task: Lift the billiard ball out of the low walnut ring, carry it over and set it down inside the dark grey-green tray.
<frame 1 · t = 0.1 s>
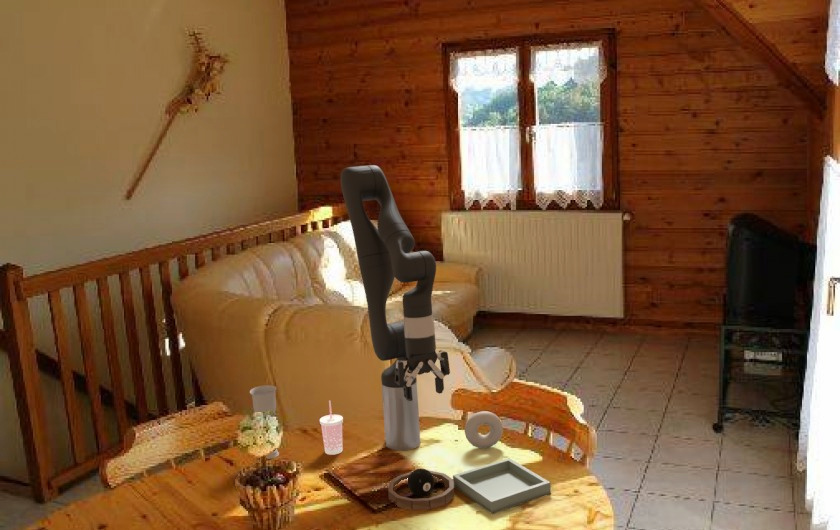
hand: (424, 396, 201), 17 cm above the table, tool pointing down, fingers open, 8 cm apart
donut: (484, 448, 211), on the table
tray: (501, 490, 187), on the table
billiard ball: (421, 495, 187), resting in walnut ring
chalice: (269, 455, 214), on the table
beverage cup: (333, 451, 214), on the table
walnut ring: (421, 494, 187), on the table
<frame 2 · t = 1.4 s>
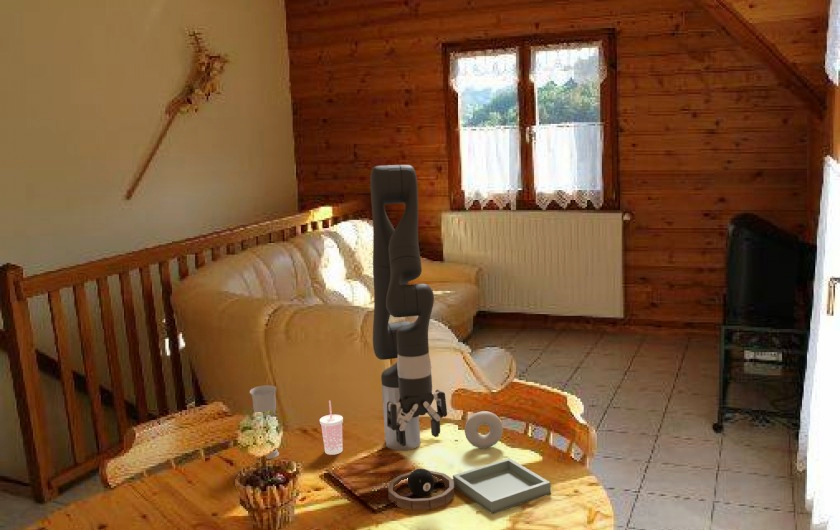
hand: (418, 440, 185), 13 cm above the table, tool pointing down, fingers open, 8 cm apart
nothing on the table moved.
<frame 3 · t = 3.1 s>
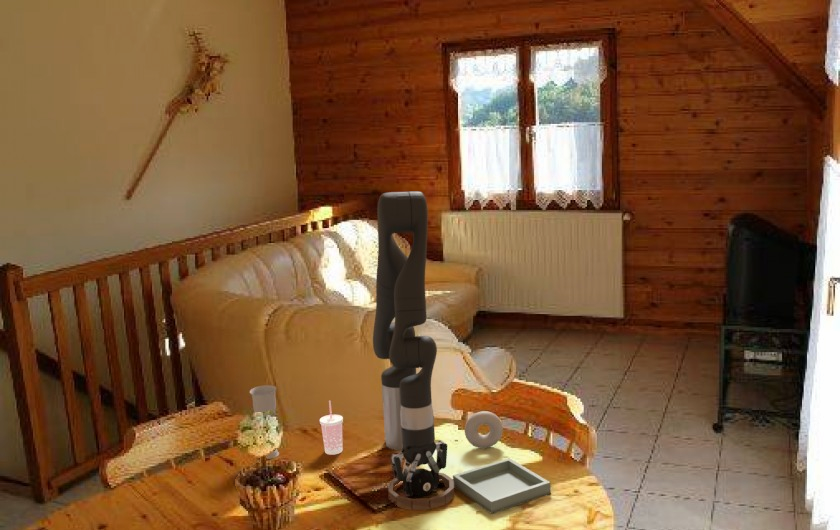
hand: (421, 490, 187), 1 cm above the table, tool pointing down, fingers closed on billiard ball, 6 cm apart
billiard ball: (421, 495, 187), resting in walnut ring, touching gripper
everything else where it was.
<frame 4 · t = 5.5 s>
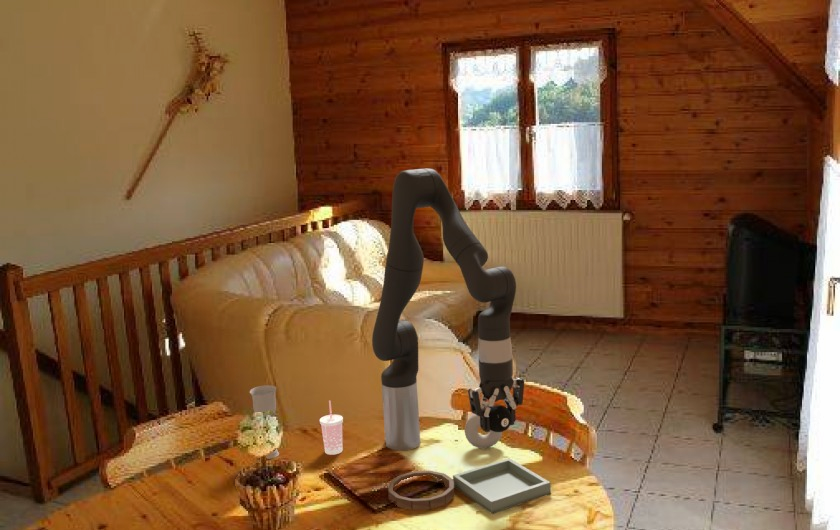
hand: (498, 427, 184), 15 cm above the table, tool pointing down, fingers closed on billiard ball, 6 cm apart
billiard ball: (498, 431, 184), point 14 cm above the table, touching gripper
everything else where it was.
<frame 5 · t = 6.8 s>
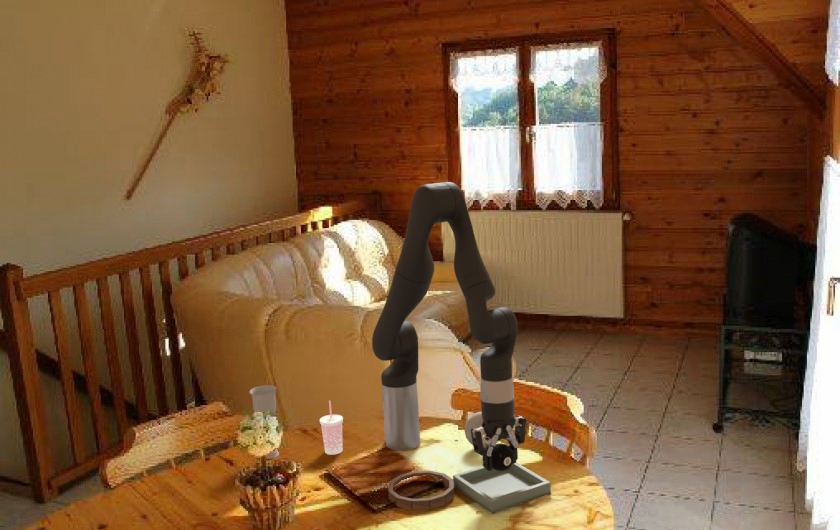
hand: (500, 465, 186), 6 cm above the table, tool pointing down, fingers closed on billiard ball, 6 cm apart
billiard ball: (501, 470, 186), point 5 cm above the table, touching gripper
everything else where it was.
when the fingers open (3 cm above the table, at t = 7.9 s): billiard ball drops 1 cm, resting on tray.
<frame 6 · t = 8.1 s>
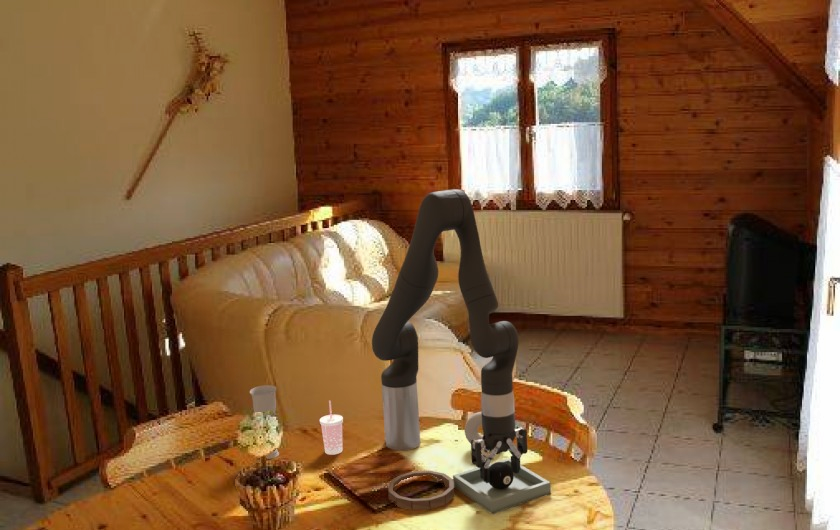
hand: (500, 476, 186), 3 cm above the table, tool pointing down, fingers open, 7 cm apart
billiard ball: (500, 488, 187), resting on tray
everything else where it was.
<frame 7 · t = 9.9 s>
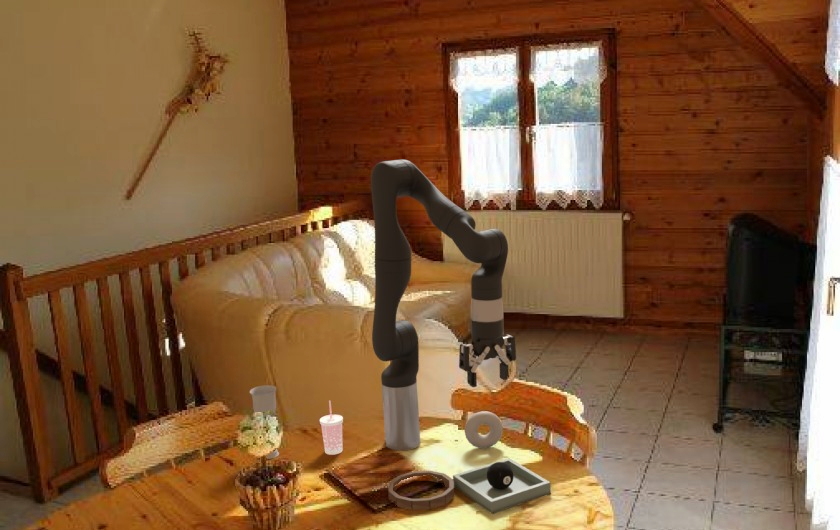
hand: (488, 382, 190), 23 cm above the table, tool pointing down, fingers open, 8 cm apart
nothing on the table moved.
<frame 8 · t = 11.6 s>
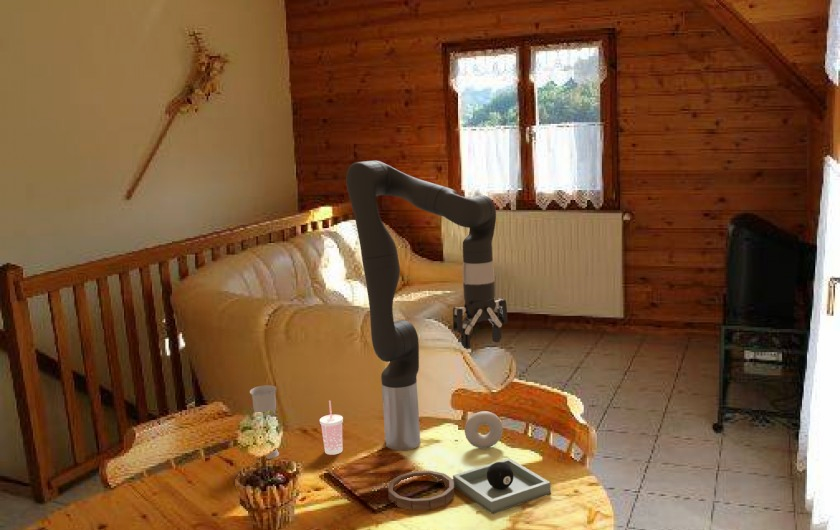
hand: (481, 345, 197), 30 cm above the table, tool pointing down, fingers open, 8 cm apart
nothing on the table moved.
at the end: billiard ball inside the target area on the tray (0.1 cm from its centre), point 0.4 cm above the tray's base; the gripper is holding nothing; billiard ball touching tray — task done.
